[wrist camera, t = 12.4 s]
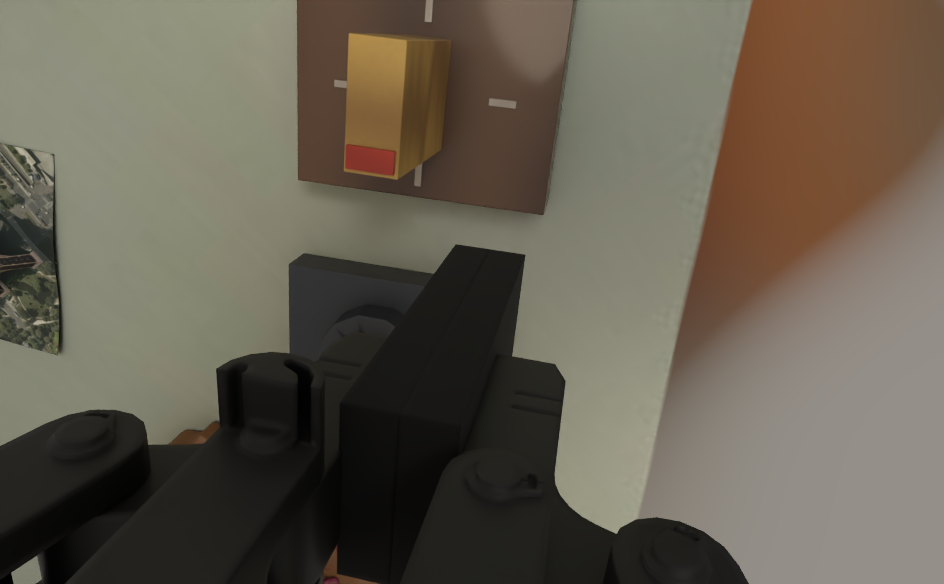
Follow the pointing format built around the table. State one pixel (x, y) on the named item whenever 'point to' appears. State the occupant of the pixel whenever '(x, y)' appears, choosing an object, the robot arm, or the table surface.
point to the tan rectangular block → (394, 102)
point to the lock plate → (447, 95)
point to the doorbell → (345, 300)
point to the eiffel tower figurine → (27, 250)
